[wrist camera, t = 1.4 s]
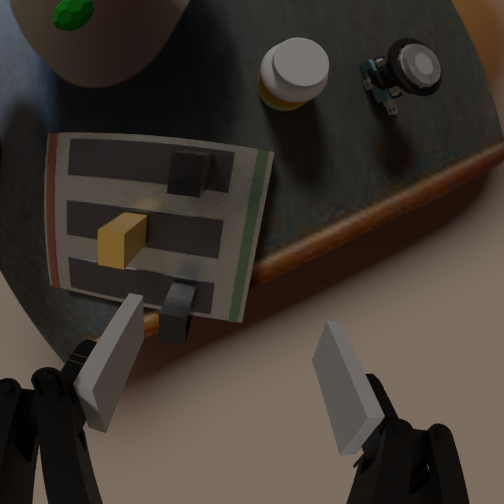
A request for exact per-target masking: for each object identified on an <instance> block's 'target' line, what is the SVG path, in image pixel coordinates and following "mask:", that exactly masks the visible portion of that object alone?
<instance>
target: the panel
mask: <svg viewBox="0 0 504 504" xmlns="http://www.w3.org/2000/svg"><path fill="white" fill-rule="evenodd" d="M273 157H274V152H270V151H264V150H259V149H253V148H247V147H241V146H235V145H228V144H221V143H214V142H206V141H198V140H190V139H181V138H171V137H160V136H147V135H132V134H112V133H48V136H47V146H46V159H45V179H44V220H45V239H46V252H47V263H48V272H49V280H50V285H51V286H52V287H55V288H63V289H67V290H71V291H75V292H79V293H83V294H87V295H92V296H96V297H100V298H105V299H110V300H114V301H119V302H124V300H125V299H126V297H127V296H128V294H129V293H131V294H137V295H142V296H143V307H149V308H154V309H159V310H160V312H159V341H164V342H169V343H174V344H180V345H185V343H186V339H187V335H188V330H189V327H190V323H191V319H192V315H194V316H201V317H208V318H214V319H221V320H228V322H236V323H237V322H242V320H243V314H244V309H245V304H246V298H247V294H248V289H249V283H250V278H251V273H252V268H253V263H254V257H255V252H256V247H257V242H258V236H259V231H260V226H261V221H262V215H263V210H264V205H265V200H266V194H267V189H268V184H269V179H270V173H271V168H272V163H273ZM124 212H127V213H135V214H142V215H147V229H146V245H145V246H144V247H143V248H142V249H141V251H140V252H139V253H138V254H137V255H136V256H135V257H134V259H133V260H132V261H131V262H130V263H129V264H128V266H127V267H126V268H125V269H118V268H113V267H108V266H102V265H98V229H100V228H101V227H103V226H104V225H106V224H107V223H109V222H110V221H112V220H113V219H115V218H116V217H118V216H120V215H121V214H123V213H124Z"/></svg>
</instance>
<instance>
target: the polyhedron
mask: <svg viewBox="0 0 504 504" xmlns="http://www.w3.org/2000/svg"><path fill="white" fill-rule="evenodd" d="M93 9H94V7H93V4H92V2H91V0H63V1H61V2H60V3H59V5H58V6H57V7H56V8H55V9H54V13H53V22H54V24H55V26H56V27H57V28H58V29H62V30H67V31H73V30H75V29H78V28H80V27H82V26H84V25H85V24H86V23H87V21H88V20H89V19H90V18H91V16H92V13H93Z"/></svg>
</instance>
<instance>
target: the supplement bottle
mask: <svg viewBox="0 0 504 504" xmlns="http://www.w3.org/2000/svg"><path fill="white" fill-rule="evenodd" d="M328 70H329V60H328V57H327V54H326V53H325V51H324V50H323V49H322V48H321V47H320V46H319V45H318V44H317V43H315V42H313V41H311V40H309V39H305V38H292V39H288V40H286V41H284V42H283V43H281V44H278V45H276V46H274V47H273V48H271V49H270V50H269V51H268V52H267V53H266V55H265V56H264V58H263V61H262V64H261V68H260V71H259V75H258V79H257V91H258V94H259V96H260V98H261V99H262V101H263V102H264V103H265V104H266V105H268V106H269V107H271V108H273V109H275V110H279V111H291V110H295V109H297V108H299V107H301V106H302V105H304V104H305V103H307V102H308V101H310V100H311V99H313V98H315V97H316V96H317V95H318V94H320V93H321V91H322V90H323V89H324V87H325V85H326V83H327V80H328Z"/></svg>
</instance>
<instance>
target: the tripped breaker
mask: <svg viewBox="0 0 504 504" xmlns="http://www.w3.org/2000/svg"><path fill="white" fill-rule="evenodd" d="M146 229H147V215H142V214H135V213H127V212H124V213H123V214H121V215H120V216H118V217H116V218H115V219H113V220H112V221H110V222H109V223H107V224H106V225H104V226H103V227H101V228H100V229H98V265H102V266H108V267H113V268H118V269H125V268H126V267H127V266H128V264H129V263H130V262H131V261H132V260H133V259H134V257H135V256H136V255H137V254H138V253H139V252H140V251H141V249H142V248H143V247H144V246H145V245H146Z"/></svg>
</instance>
